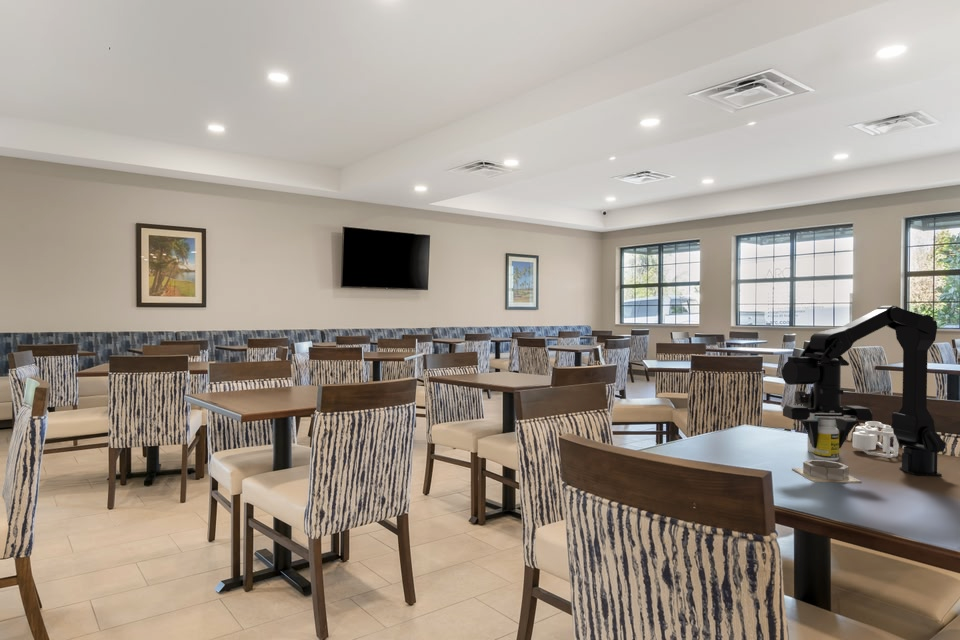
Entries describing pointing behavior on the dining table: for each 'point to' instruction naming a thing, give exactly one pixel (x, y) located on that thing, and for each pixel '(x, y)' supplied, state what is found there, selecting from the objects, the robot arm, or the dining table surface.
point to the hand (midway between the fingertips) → (826, 447)
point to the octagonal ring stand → (826, 471)
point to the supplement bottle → (827, 440)
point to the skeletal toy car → (875, 439)
